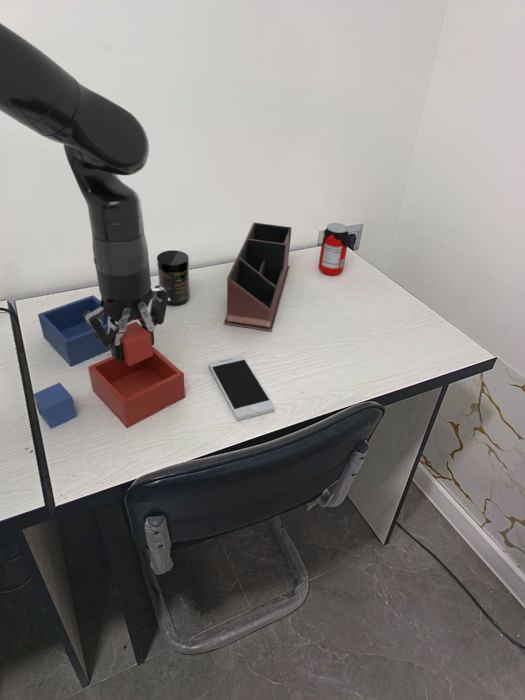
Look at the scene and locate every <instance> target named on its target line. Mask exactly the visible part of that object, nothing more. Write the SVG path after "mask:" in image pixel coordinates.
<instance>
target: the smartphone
mask: <svg viewBox="0 0 525 700" xmlns="http://www.w3.org/2000/svg"><path fill="white" fill-rule="evenodd" d="M208 368H209V370H210V372H211V374H212V376H213V378H214V379H215V381H216V384H217V385H218V388H219V389H220V391H221V393H222V395H223V397H224V399H225V401H226V403H227V405H228V406H229V408H230V411H231V412H232V414H233V416H234V418H235V419H236V421H242V420H246V419H249V418H253V417H257V416H260V415H264V414H268V413H272V412H275V404H274V403H273V401H272V400H271V398H270V396H269V395H268V393H267V391H266V390H265V388H264V386H263V385H262V383H261V381H260V380H259V379H258V376H257V375H256V374H255V372H254V371H253V369H252V367H251V366H250V364H249V362H248V361H247V359H246V357H245V356H244V355H242V354H239V355H236V356H232V357H226V358H222V359H217V360H213V361H208Z"/></svg>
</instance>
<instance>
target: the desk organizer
mask: <svg viewBox="0 0 525 700" xmlns="http://www.w3.org/2000/svg"><path fill="white" fill-rule="evenodd" d="M291 236H292V227H291V226H283V225H277V224H269V223H261V222H252V225H251V226H250V229H249V231H248V233H247V235H246V237H245V240H244V242H243V244H242V246H241V248H240V250H239V252H238V254H237V257H236V258H235V260H234V262H233V265H232V267H231V269H230V270H229V273H228V276H227V277H226V317H225V319H224V322H223V325H226V326H227V325H229V326H236V327H242V328H249V329H256V330H260V331H261V330H262V331H268V332H272V331H273V327H274V323H275V320H276V317H277V313H278V309H279V306H280V302H281V299H282V295H283V291H284V287H285V284H286V281H287V277H288V274H289V270H290V265H289V256H290V247H291V246H290V245H291V239H292V237H291Z"/></svg>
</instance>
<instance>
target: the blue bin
mask: <svg viewBox="0 0 525 700" xmlns="http://www.w3.org/2000/svg"><path fill="white" fill-rule="evenodd" d="M100 302H101V299H99V298H98V297H96V296H95V295H94V294H92V295H90V296H87V297H83V298H81V299H78V300H75V301H72V302H69V303H66V304H63V305H60V306H58V307H55V308H52V309H49V310H46V311H43V312H40V313H38V314H37V316H38V320H39V324H40V328H41V332H42V335H43V338H44V339H45V341H47V343H48V344H49V345H50V346H51V347H52V348H53V349H54V350H55V352H57V353H58V355H60V357H61V358H62V359H63V360H64V361H65V362H66V363H67V364H68V366H70V367H74V366H75V365H78V364H81V363H83V362H86V361H87V360H90V359H92V358H94V357H97V356H99V355H102V354H104V353H106V352H109V351H111V349H110V345H109V346H108V347H105V346H104V345H103V344H102V343H101V342H100V341H98V340H97V339H96V337H95V335H94V334H93V332H92V330H91V329H90V327H89V325H88V324H87V322H86V320H85V319H84V317H83V313H84V312H85V311H90V312H93V311H94V310H96V309H97V308H99V307H100ZM102 327H103V329H104V330H105V332H106V334H107V333H108V315H106V314H104V316H103V325H102Z"/></svg>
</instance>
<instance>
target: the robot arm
mask: <svg viewBox="0 0 525 700" xmlns="http://www.w3.org/2000/svg"><path fill="white" fill-rule="evenodd" d="M0 111H1V112H2V113H4V114H5V115H7V116H8V117H10V118H11V119H13V120H15V121H16V122H18V123H19V124H21V125H23V126H25V127H26V128H28V129H30V130H31V131H33V132H35V133H36V134H38V135H40V136H41V137H43V138H45V139H48V140H50V141H53V142H55V143H58V144H62V145H63V151H64V153H65V157H66V160H67V162H68V165H69V167H70V170H71V172H72V174H73V176H74V179H75V181H76V184H77V186H78V189H79V190H80V193H81V195H82V196H83V198H84V201H85V204H86V205H87V211H88V212H87V213H88V218H89V224H90V231H91V237H92V238H91V239H92V240H91V241H92V244H91V245H92V253H93V254H92V255H93V263H94V266H95V271H96V277H97V284H98V289H99V294H100V301H101V302H100V307H99V308H97V309H96V310H94V311H93V312H90V311H85V312H84V313H83V317H84V319H85V320H86V322H87V324H88V325H89V327H90V329H91V330H92V332H93V334H94V335H95V337H96V339H97V340H98V341H100V342H101V343H102V344H103V345H104V346H105V347H108V346H109V345H110V349H111V350H110V355H111V356H113V357H114V358H115V359H116V360H117V361H118V360H119V361H120V362H123V361H125V356H124V349H123V344H122V338H123V333H124V332H126V327H127V325H128V324H130V323H132V321H136V320H138V322H139V324H140V325H141V326H142V327H143V328H144V329H146V330H147V331H148V332H149V333H150V334H151V340H152V346H154V345H155V335H154V334H155V332H154V330H155V328H156V326H158V325H159V326H161V325H162V324H163V323H164V322H165V317H166V311H167V308H168V304H167V302H168V297H169V292H168V291H166V290H165V289H164V288H162V287H161V286H159V284H157V285H155V286H154V287H153V288H152V279H151V270H150V268H151V267H150V259H149V258H150V257H149V248H148V247H149V246H148V241H147V237H146V234H145V223H144V215H143V206H142V199H141V196H140V194H139V192H138V191H136V190H135V189H134V188H133V187H131V186H130V185H128V184H126V183H125V182H124V181H123V180H121V178H120V177H119V176H132V175H135V174H137V173H139V172H140V171H142V170H143V169H144V167H145V166H146V165H147V163H148V161H149V158H150V155H151V142H150V138H149V135H148V132H147V130H146V128H145V126H144V125H143V123H142V122H141V121H140V120H139V119H138V118H137V117H136V116H135V115H134V114H133V113H131V112H130V111H128V110H127V109H126V108H124V107H122V106H121V105H119V104H117V103H115V102H113V101H112V100H110V99H108V98H106V97H105V96H103V95H101V94H100V93H98V92H95V91H93V90H91V89H90V88H88V87H86V86H85V85H83V84H81V82H79V81H78V80H77V79H76V78H75V77H73V76H72V75H71V74H70V73H69V72H68V71H66V70H65V69H64V68H63V67H62V66H60V65H59V64H58V63H57V62H55V60H53V59H52V58H51V57H49V56H48V55H47V54H45V52H43V51H42V50H40V49H39V48H38V47H36V46H35V45H33V44H32V43H31V42H29V41H28V40H27V39H25V38H24V37H22V36H20V34H18V33H16V32H15V31H13V30H12V29H10V28H9V27H7V26H5V24H3V23H1V22H0ZM150 303H151V305H150ZM149 306H150V310H148V307H149ZM104 314H106V315H108V333H107V334H106V332H105V330H104V329H103V327H102V325H103V316H104Z"/></svg>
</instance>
